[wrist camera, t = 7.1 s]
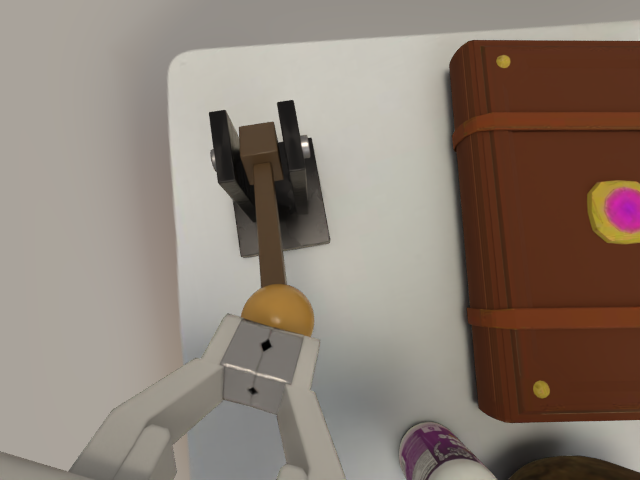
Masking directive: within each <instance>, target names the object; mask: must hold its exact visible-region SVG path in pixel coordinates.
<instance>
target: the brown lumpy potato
mask: <svg viewBox="0 0 640 480" xmlns="http://www.w3.org/2000/svg"><path fill="white" fill-rule="evenodd" d="M509 480H640V473H639V472H636V471H633V470H630V469H628V468H625V467H622V466H619V465H616V464H613V463H610V462H607V461H604V460H601V459H596V458H591V457H585V456H556V457H548V458H543V459H538V460H535V461H533V462H530V463H528V464H526V465H525V466H523V467H521V468H520V469H519V470H517V471H516V472H515V473H514V474H513V475H512V476H511V477H510V478H509Z"/></svg>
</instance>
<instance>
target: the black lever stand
mask: <svg viewBox="0 0 640 480" xmlns="http://www.w3.org/2000/svg"><path fill="white" fill-rule="evenodd" d="M277 107H278V113H279V118H280V124H281V130H282V136H283V142H279V143H278V145H279V150H280V156H281V163H282V170H283V177H284V179H283V180H279V181H274V182H275V190H276V199H277V207H278V215H279V223H280V231H281V240H282V248H283V251H287V250H293V249H299V248H305V247H311V246H317V245H322V244H328V243H330V236H329V230H328V225H327V220H326V214H325V209H324V203H323V198H322V192H321V187H320V181H319V176H318V171H317V165H316V160H315V154H314V149H313V143H312V138H308V137H307V135H302V136H300V133H299V128H298V122H297V116H296V111H295V105H294V101H293V100H289V101H282V102H277ZM209 118H210V125H211V133H212V140H213V148H214V149H212V150H211V161H212V164H213V167H214V169H215V171H216V172H217V178H218V183H219V184H220V186H221V187H222V188H223V189H224V190H225V191H226V192H227V194H228V195H229V196H230V197H231V198H232V199H233V204H234V211H235V218H236V225H237V232H238V240H239V247H240V254H241V257H243V258H247V257H253V256H258V255H259V248H258V234H257V220H256V206H255V192H254V185H250V184H249V181H248V178H247V175H246V172H245V169H244V167H243V164H242V161H241V158H240V141H239V137H238V135H237V133H236V130H235V128H234V126H233V124H232V122H231V120H230V118H229V116H228V114H227V112H226V110H221V111H214V112H209Z"/></svg>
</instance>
